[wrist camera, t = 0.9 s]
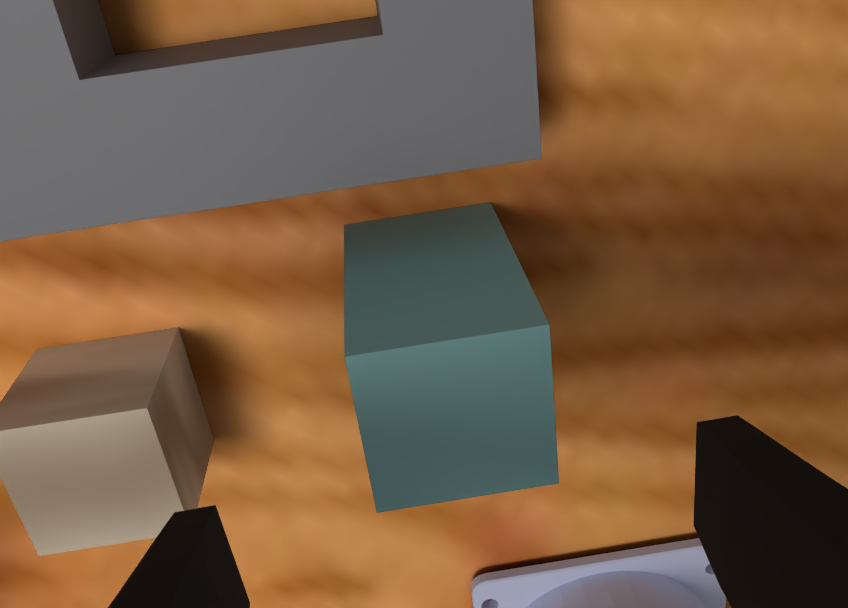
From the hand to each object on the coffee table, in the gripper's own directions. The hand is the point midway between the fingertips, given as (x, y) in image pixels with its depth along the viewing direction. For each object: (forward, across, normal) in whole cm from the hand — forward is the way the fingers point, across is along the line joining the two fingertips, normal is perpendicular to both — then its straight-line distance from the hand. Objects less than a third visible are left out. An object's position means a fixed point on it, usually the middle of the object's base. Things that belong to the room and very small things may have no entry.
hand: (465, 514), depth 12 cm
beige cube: (+9, +8, +2) cm, 12 cm away
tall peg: (+8, 0, 0) cm, 9 cm away
